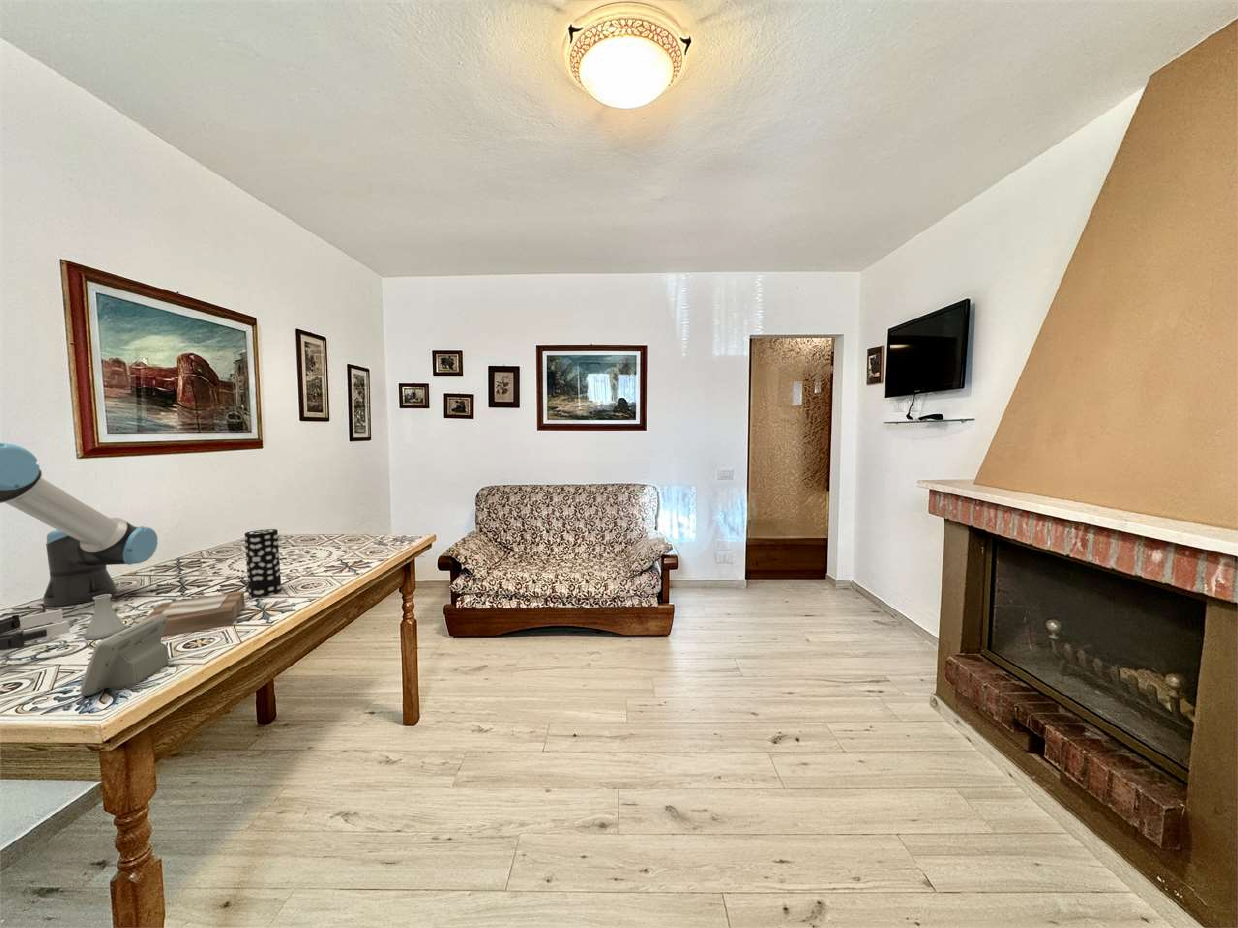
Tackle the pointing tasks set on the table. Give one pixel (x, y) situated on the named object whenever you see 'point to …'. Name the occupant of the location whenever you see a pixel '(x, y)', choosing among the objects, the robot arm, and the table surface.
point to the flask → (103, 619)
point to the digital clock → (127, 656)
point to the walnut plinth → (200, 613)
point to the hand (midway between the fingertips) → (65, 620)
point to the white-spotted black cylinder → (263, 562)
